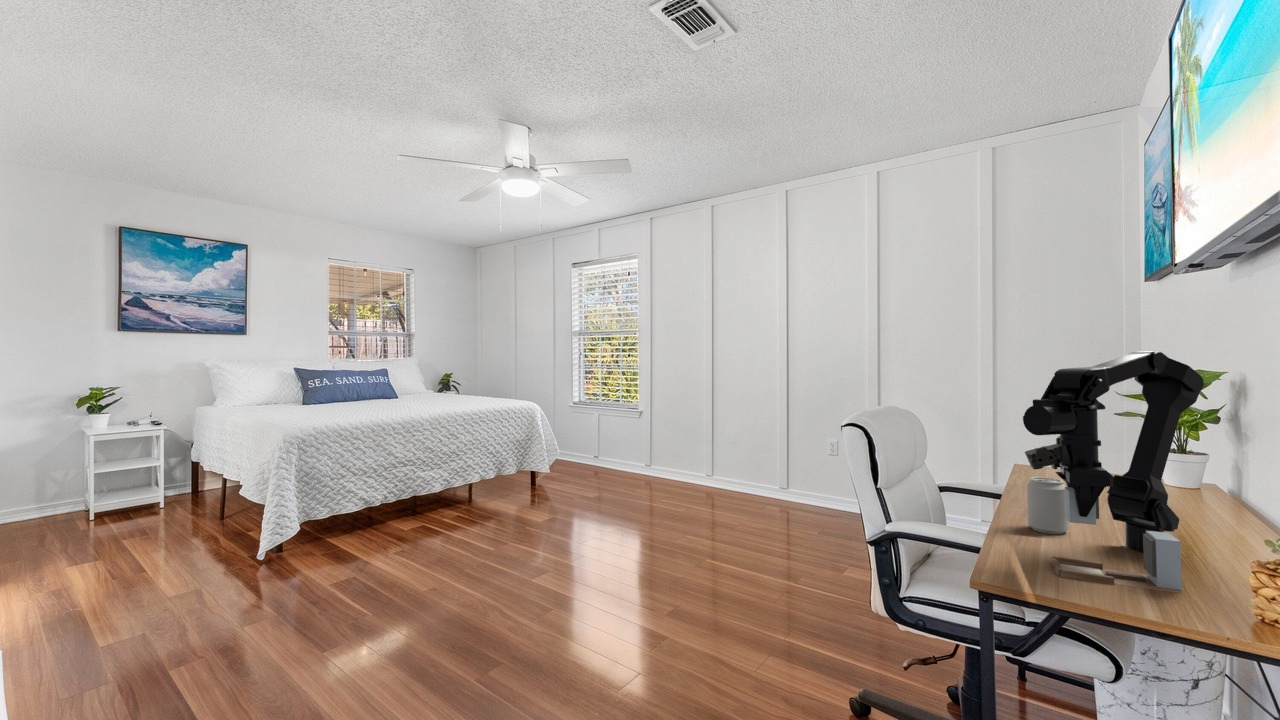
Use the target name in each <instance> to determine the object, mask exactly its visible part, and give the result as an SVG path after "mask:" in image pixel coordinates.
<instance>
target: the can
mask: <svg viewBox="0 0 1280 720" xmlns="http://www.w3.org/2000/svg"><path fill="white" fill-rule="evenodd" d="M1029 479H1030V481H1028V482H1027V484H1026V492H1027V493H1026V494H1027V495H1026V496H1027V497H1026V498H1027V499H1026V500H1027V502H1026V503H1027V524H1028V526H1029V527H1030V528H1031V529H1032V530H1034V531H1036V532H1039V533H1043V534H1049V535H1063V534H1064V533H1065V532H1067V531H1068V530H1069V521H1068V520H1067V518H1066V517H1065V487H1067V485H1065V484H1063V483H1064V480H1063V479H1060V478H1054V477H1049V476H1048V477H1046V476H1032V477H1030V478H1029Z"/></svg>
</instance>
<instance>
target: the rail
mask: <svg viewBox="0 0 1280 720" xmlns="http://www.w3.org/2000/svg"><path fill="white" fill-rule="evenodd" d="M1049 563H1050V565H1051V566H1052V568H1053V570H1054V571H1055V573H1056V575H1057V576H1058V577H1059V578H1065V579H1066V578H1067V579H1073V580H1081V581H1087V582H1094V583H1095V582H1096V583H1103V584H1110V585H1118V586H1123V587H1131V588H1132V587H1133V588H1139V589H1147V590H1154V591H1161V592H1169V593H1175V594H1182V592H1181V590H1176V589H1169V588H1161V587H1157V586H1156V585H1155V584H1154V583H1153V582H1152V581H1151V580H1150V579H1149V578H1148V577H1147V573H1142V572H1136V571H1128V570H1127V571H1126V570H1119V569H1112V568H1103V565H1104V564H1103V563H1102V562H1099V561H1091V560H1090V561H1089V560H1083V559H1075V558H1074V559H1073V558H1068V557H1057V556H1052V557H1050V561H1049Z"/></svg>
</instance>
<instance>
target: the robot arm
mask: <svg viewBox="0 0 1280 720" xmlns="http://www.w3.org/2000/svg"><path fill="white" fill-rule="evenodd" d="M1053 374H1054V375H1053V376H1052V379H1050V382H1049V384H1048V385H1047V386H1046V389H1045V391H1044V392H1043V394H1042V396H1041V398H1040V399H1037V398H1035V399H1033V400H1032V405H1031V406H1029V407H1028V408H1027V409H1026V410H1025V412H1024V414H1023V416H1022V423H1023V425H1024V428H1025V429H1026V430H1027V431H1028V432H1029V433H1030V434H1032V435H1035V436H1052V435H1053V436H1055V435H1059V436H1057V437H1056V439H1055V444H1054V443H1053V444H1050V445H1043V446H1041V447H1035V448H1033V449H1029V450H1026V451H1024V454H1025V457H1026V459H1027V461H1028V463H1029V465H1030V467H1031V468H1032V469H1033V470H1041V469H1043V468H1045V467H1049V466H1050V467H1051V468H1052V469H1053V470H1058V468H1059V469H1060V471H1055V474H1056V475H1057V476H1058V477H1059V478H1061V480H1062V481H1063V482H1064V483H1065V484H1066V485H1065V486H1066V487H1072V488H1073V490H1074V495H1075V499H1076V503H1077V508H1078V512H1079V515H1080V516H1081V517H1087V516H1088V514H1089V513H1090V511H1091V509H1092V507H1093V506H1094V504H1095V502H1096V501H1097V499H1098V497H1099V498H1100V496H1101V494H1102V493H1103V491H1104V490H1105V488H1107V487H1108V488H1109V489H1108V490H1107V492H1106V493H1107V499H1106V501H1107V505H1108V507H1109V512H1110V514H1111V517H1112V520H1113V521H1118V522H1119V521H1120V522H1123V523H1125V525H1124V527H1125V545H1119V548H1127V549H1130V550H1134V551H1137V552H1139V553H1141V554H1143V534H1146V531H1155V532H1169V533H1170V532H1171V533H1172V532H1175V530H1176V531H1177V530H1178V528H1179V524H1180V518H1179V516H1178V515H1177V514H1176V513H1175V512H1174V510H1173V509H1171V507H1170V506H1169V505H1168V502H1169V501H1168V499H1169V494H1168V492H1167V490H1166V488H1165V486H1164V484H1163V481H1162V479H1163V475H1164V472H1165V468H1166V465H1167V461H1168V458H1169V455H1170V452H1171V451H1170V450H1171V448H1172V444H1173V441H1174V437H1175V435H1176V432H1177V428H1178V425H1179V421H1180V417H1181V416H1182V415H1181V414H1182V413H1183V412H1184V411H1186V410H1187V409H1189V408H1190V407H1191V406H1193V405H1194V404H1195V403H1196V402H1197V400H1198V398H1199V395H1200V393H1201V391H1202V390H1203V388H1204V384H1205V383H1204V379H1203V376H1201V374H1200V373H1199V372H1197V371H1196V370H1195V369H1193V368H1192V367H1191V366H1189V364H1187V363H1183V362H1180V361H1178V360H1175V359H1172V358H1170V357H1168V356H1167V355H1166V354H1165V353H1163V352H1162V351H1157V350H1147V351H1146V350H1143V351H1141V350H1139V351H1132V352H1129V353H1128V354H1126V355H1124V356H1120V357H1117V358H1115V359H1111V360H1108V361H1105V362H1101V363H1099V364H1095V365H1092V366H1085V367H1068V368H1060V369H1058V370H1056V371H1055V372H1054V373H1053ZM1133 378H1134V381H1136V382H1137V383H1138V384H1139V385H1141V386H1142V388H1141V394H1142V396H1143V397H1144V401H1145V403H1146V404H1147V408H1146V412H1145V416H1144V418H1143V422H1142V425H1141V429H1140V432H1139V434H1138V435H1139V436H1138V438H1137V441H1136V445H1135V449H1134V452H1133V455H1132V459H1131V462H1130V465H1129V469H1128V470H1127V472H1124V474H1122V475H1118V474H1114V476H1113V474H1112V473H1110V472H1109V471H1108V470H1106V469H1105V468H1103V467H1102V462H1101V461H1099V447H1101V446H1102V440H1100V439H1099V436H1098V435H1099V432H1098V429H1099V428H1098V426H1099V425H1098V423H1099V422H1098V410H1099V411H1100V410H1101V411H1103V410H1106V406H1105V405H1104V404H1103V403H1101V402H1100V401H1099V400H1098V398H1099V397H1102V396H1103V395H1104V394H1106V393H1108V392H1109V391H1110V387H1111V386H1113V385H1115V384H1118V383H1121V382H1125V381H1126V380H1130V379H1133Z"/></svg>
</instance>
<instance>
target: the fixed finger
mask: <svg viewBox="0 0 1280 720" xmlns="http://www.w3.org/2000/svg"><path fill="white" fill-rule="evenodd" d="M1142 555H1143V569H1144V571H1146V574H1147V577H1148V578H1149V579H1150V580H1151V581H1152V582H1153V583H1154V584H1155V585H1156V586H1157V587H1161V588H1169V589H1176V590H1179V591H1183V585H1182V583H1183V582H1182V580H1183V579H1182V578H1183V577H1182V576H1183V575H1182V545H1181V540H1179V539H1178V538H1177V537H1175V536H1174V535H1172V534H1171V533H1170V532H1166V531H1164V532H1155V531H1146V534H1143V553H1142Z"/></svg>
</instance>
